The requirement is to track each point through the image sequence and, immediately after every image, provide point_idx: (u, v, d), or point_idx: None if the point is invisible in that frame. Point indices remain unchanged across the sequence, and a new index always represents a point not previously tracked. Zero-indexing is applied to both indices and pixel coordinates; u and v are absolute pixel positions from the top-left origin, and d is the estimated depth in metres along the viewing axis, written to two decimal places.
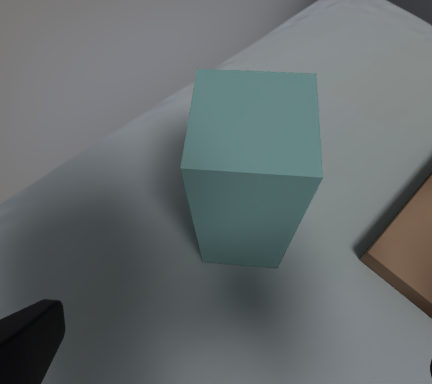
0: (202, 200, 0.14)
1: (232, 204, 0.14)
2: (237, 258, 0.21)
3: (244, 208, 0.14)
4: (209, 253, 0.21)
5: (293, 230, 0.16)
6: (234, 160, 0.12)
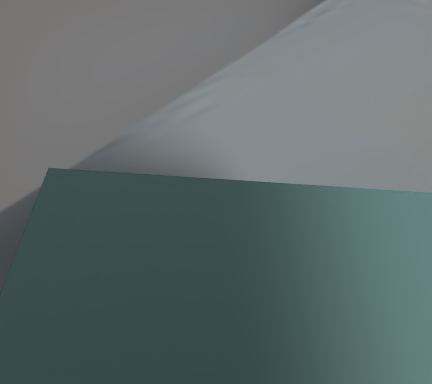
0: None
1: None
2: None
3: None
4: None
5: None
6: None
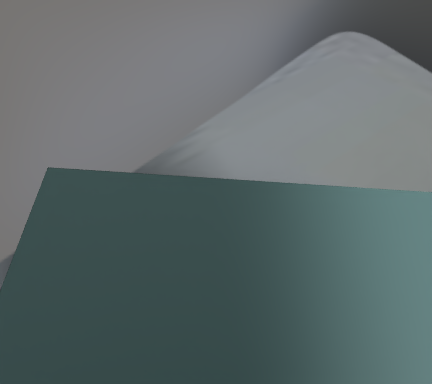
0: None
1: None
2: None
3: None
4: None
5: None
6: None
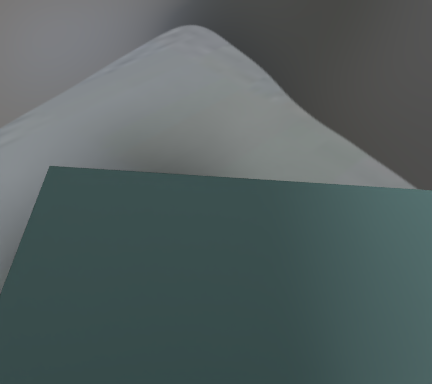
0: None
1: None
2: None
3: None
4: None
5: None
6: None
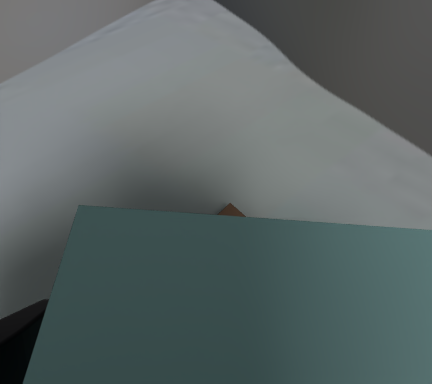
0: None
1: None
2: None
3: None
4: None
5: None
6: None
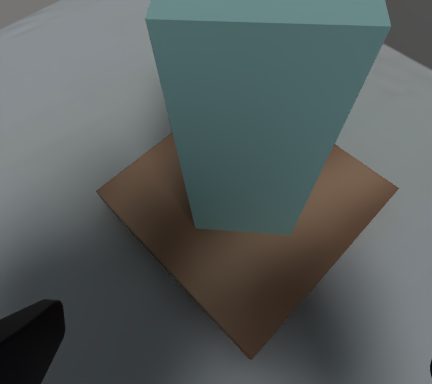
0: (188, 102, 0.09)
1: (233, 111, 0.09)
2: (239, 220, 0.16)
3: (251, 118, 0.09)
4: (203, 213, 0.16)
5: (320, 163, 0.11)
6: (238, 7, 0.07)
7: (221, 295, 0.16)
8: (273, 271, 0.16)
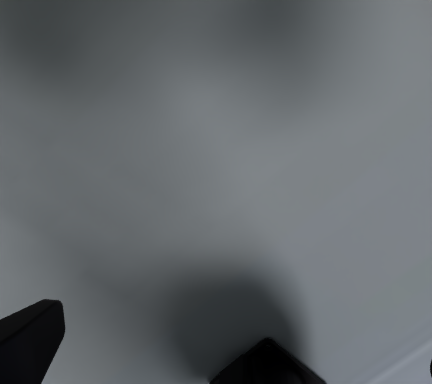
0: None
1: None
2: None
3: None
4: None
5: None
6: None
7: None
8: None
